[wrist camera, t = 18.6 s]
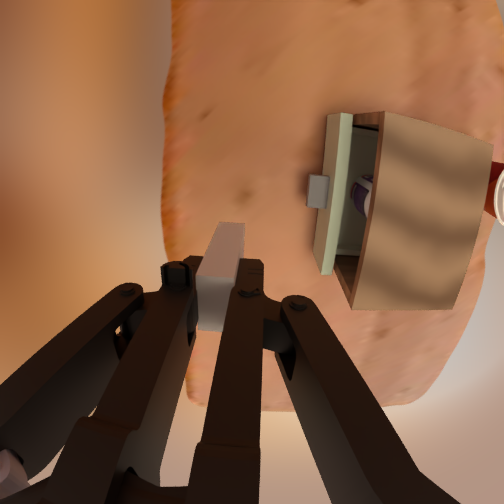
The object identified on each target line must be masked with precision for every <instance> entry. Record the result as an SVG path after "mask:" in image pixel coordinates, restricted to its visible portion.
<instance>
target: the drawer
mask: <svg viewBox="0 0 504 504" xmlns="http://www.w3.org/2000/svg"><path fill="white" fill-rule="evenodd" d="M352 121H353V114H347V113H336V114H330V115H327V128H326V140H325V151H324V162H323V172H322V175H321V174H311V173H309V177H308V187H307V197H306V206H307V207H310V208H318V216H317V224H316V231H315V239H314V246H313V254H314V257H315V259H316V262H317V265H318V268H319V271H320V273H321V275H332V271H333V265H334V260H335V254H338V255H353V256H360V253H361V248H362V243H363V238H364V233H365V228H366V222H367V219H366V218H365V217H364V216H363V215H362V214H361V213H360V212H359V211H358V210H357V209H356V208H355V207H354V206H353V205H352V203H351V200H350V188H351V185H352V184H353V182H354V181H355V180H356V179H357V178H358V177H360V176H362V175H365V174H372V175H374V169H375V161H376V152H377V143H378V133H379V132H377V131H372V130H366V129H361V128H355V127H352Z"/></svg>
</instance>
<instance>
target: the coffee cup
mask: <svg viewBox="0 0 504 504" xmlns="http://www.w3.org/2000/svg"><path fill="white" fill-rule="evenodd" d="M483 210H485V211H486V212H488V213H489V214H491V215H492V216H494V217H495V218H497V219H498V221H499V222H500V223H501V224H502V225H503V226H504V164H503V163H498V162H493V161H492V163H491V171H490V177H489V183H488V189H487V194H486V199H485V204H484V209H483Z"/></svg>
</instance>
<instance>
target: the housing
mask: <svg viewBox="0 0 504 504" xmlns="http://www.w3.org/2000/svg"><path fill="white" fill-rule="evenodd" d="M352 127H355V128H361V129H366V130H372V131H377V132H379V133H378V143H377V152H376V161H375V169H374V177H373V184H372V191H371V198H370V204H369V210H368V216H367V222H366V228H365V233H364V238H363V243H362V248H361V253H360V256H353V255H338V254H335V260H334V265H333V268H334V271H335V273H336V275H337V277H338V280H339V282H340V284H341V287H342V289H343V291H344V293H345V296H346V298H347V301H348V303H349V305H350V308H351V310H450V309H453V306H454V304H455V301H456V299H457V296H458V294H459V291H460V288H461V285H462V283H463V280H464V277H465V274H466V271H467V268H468V265H469V262H470V258H471V255H472V252H473V248H474V245H475V241H476V238H477V234H478V230H479V226H480V222H481V218H482V214H483V209H484V204H485V199H486V194H487V189H488V183H489V177H490V171H491V163H492V155H493V146H494V145H492V144H490V143H487V142H485V141H482V140H480V139H477V138H474V137H472V136H469V135H466V134H463V133H460V132H457V131H454V130H451V129H448V128H445V127H442V126H439V125H436V124H432V123H429V122H425V121H422V120H418V119H414V118H411V117H407V116H403V115H399V114H395V113H390V112H386V111H383V112H373V113H363V114H355V115H353V121H352Z"/></svg>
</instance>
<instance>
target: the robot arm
mask: <svg viewBox="0 0 504 504" xmlns="http://www.w3.org/2000/svg"><path fill="white" fill-rule="evenodd" d="M244 234H245V223H229V222H219V224H218V226H217V229H216V231H215V233H214V235H213V237H212V239H211V242H210V244H209V246H208V248H207V250H206V253H205V255H204V256H191V255H190V256H189V257H187V258H186V259H184V260H183V261H172V262H168V263H165V264H163V265H162V266H161V277H162V286H161V288H160V289H159V291H156V292H146V293H143V288H142V286H141V285H139V284H136V283H124V284H121V285H119V286H117V287H115V288H114V289H113V290H111V291H110V292H109V293H108V294H106V295H105V296H104V297H102V298H101V299H100V300H99V301H97V302H96V303H95V304H94V305H93V306H91V307H90V308H89V309H88V310H86V311H85V312H84V313H83V314H81V315H80V316H79V317H78V318H76V319H75V320H74V321H73V322H72V323H71V324H69V325H68V326H67V327H66V328H64V329H63V330H62V331H61V332H60V333H58V334H57V335H56V336H55V337H54V338H53V339H51V340H50V341H49V342H48V343H47V344H46V345H44V346H43V347H42V348H41V349H40V350H39V351H37V353H35V354H34V355H33V356H32V357H31V358H30V359H28V360H27V361H26V362H25V363H24V364H23V365H22V366H21V367H20V368H18V369H17V370H16V371H15V372H14V373H13V374H12V375H11V376H10V377H8V379H6V380H5V381H4V382H3V383H2V384H1V385H0V504H259V483H260V482H259V481H260V417H261V389H262V355H263V348H264V349H267V350H271V351H274V352H275V358H276V361H277V363H278V366H279V369H280V371H281V374H282V377H283V379H284V382H285V385H286V387H287V390H288V393H289V395H290V398H291V400H292V403H293V406H294V408H295V411H296V413H297V416H298V419H299V421H300V424H301V426H302V429H303V432H304V434H305V437H306V439H307V442H308V445H309V447H310V450H311V452H312V455H313V457H314V460H315V462H316V465H317V467H318V470H319V473H320V475H321V478H322V480H323V482H324V485H325V488H326V490H327V493H328V495H329V498H330V500H331V503H332V504H460V503H459V502H458V501H457V500H455V499H454V498H453V497H451V496H450V495H449V494H448V493H446V492H445V491H444V490H442V489H441V488H440V487H439V486H437V485H436V484H435V483H433V482H432V481H431V480H430V479H428V478H427V477H426V476H425V475H424V474H422V473H421V472H420V471H419V470H418V468H417V466H416V465H415V463H414V461H413V460H412V458H411V456H410V454H409V453H408V451H407V449H406V448H405V446H404V444H403V443H402V441H401V439H400V438H399V436H398V434H397V433H396V431H395V429H394V428H393V426H392V424H391V423H390V421H389V420H388V418H387V416H386V415H385V413H384V411H383V410H382V408H381V407H380V405H379V403H378V402H377V400H376V398H375V397H374V395H373V394H372V392H371V390H370V389H369V387H368V386H367V384H366V382H365V381H364V379H363V378H362V376H361V374H360V373H359V371H358V370H357V368H356V367H355V365H354V363H353V362H352V360H351V359H350V357H349V356H348V354H347V352H346V351H345V349H344V348H343V346H342V345H341V343H340V341H339V340H338V338H337V337H336V335H335V334H334V332H333V331H332V329H331V328H330V326H329V324H328V323H327V321H326V320H325V318H324V317H323V315H322V314H321V312H320V311H319V309H318V308H317V306H316V305H315V303H314V302H313V301H312V300H311V299H309V298H307V297H305V296H301V295H291V296H287V297H285V298H283V300H282V301H281V302H278V301H275V300H272V299H270V298H268V297H267V296H266V295H265V294H264V291H263V282H264V264H263V263H262V262H261V260H260V259H246V258H243V255H244ZM197 322H198V330H205V331H215V332H222V336H221V341H220V346H219V351H218V356H217V361H216V366H215V371H214V376H213V381H212V386H211V391H210V396H209V401H208V407H207V412H206V417H205V422H204V427H203V433H202V437H201V441H200V442H199V443H198V444H197V446H196V449H195V453H194V457H193V462H192V468H191V473H190V478H189V483H188V486H183V487H160V466H161V462H162V459H163V454H164V451H165V447H166V443H167V439H168V435H169V432H170V428H171V424H172V421H173V417H174V413H175V409H176V406H177V402H178V398H179V395H180V391H181V388H182V385H183V381H184V378H185V374H186V371H187V367H188V364H189V360H190V357H191V353H192V350H193V346H194V343H195V340H196V325H197ZM119 326H120V330H121V331H120V332H119V334H116V332H115V331H116V329H117V328H118V327H119ZM96 406H97V408H96ZM94 408H96V410H95V412H94V413H93V415H92V416H90V417H88V416H89V415H90V414H91V412H92V411H93V410H94ZM64 445H65V446H64ZM63 446H64V448H63V450H62V452H61V454H60V456H59V459H58V461H57V463H56V465H55V468H54V470H53V472H52V474H51V476H49V477H47V478H45V479H43V480H41V481H40V482H37V483H35V484H33V485H31V486H30V484H29V483H28V480H29V479H31V478H33V477H34V476H36V475H37V474H38V473H39V472H41V471H42V470H43V469H44V468H45V467H46V466H47V465H48V464H49V463H50V462H51V461H52V459H53V458H54V457H55V456H56V454H57V453H58V452H59V451H60V450H61V449H62V447H63Z"/></svg>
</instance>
